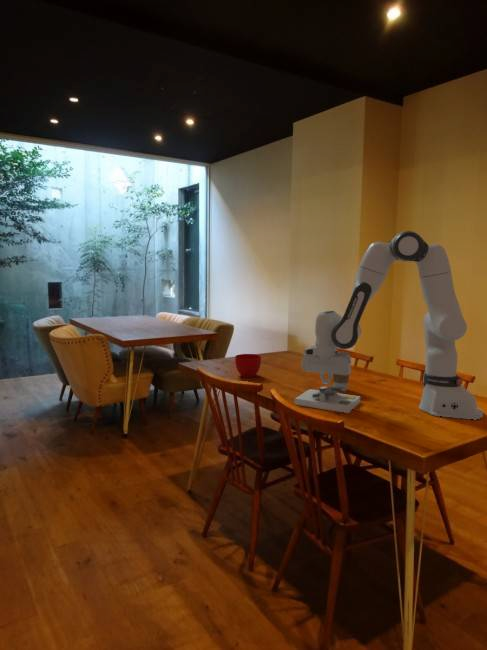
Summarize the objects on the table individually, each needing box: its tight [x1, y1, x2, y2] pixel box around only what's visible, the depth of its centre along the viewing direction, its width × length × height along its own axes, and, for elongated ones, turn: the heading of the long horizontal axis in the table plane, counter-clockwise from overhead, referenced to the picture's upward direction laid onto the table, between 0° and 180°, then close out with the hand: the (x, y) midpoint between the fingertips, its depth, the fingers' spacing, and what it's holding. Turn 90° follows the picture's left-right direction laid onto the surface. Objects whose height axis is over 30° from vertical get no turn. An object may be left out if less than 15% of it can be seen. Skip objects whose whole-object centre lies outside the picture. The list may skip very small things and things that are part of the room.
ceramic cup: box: [234, 353, 262, 378], centre depth 232 cm, size 13×17×10 cm
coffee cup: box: [332, 361, 352, 392], centre depth 205 cm, size 8×8×15 cm
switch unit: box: [294, 385, 361, 414], centre depth 185 cm, size 22×16×6 cm
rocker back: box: [318, 386, 343, 392], centre depth 188 cm, size 9×4×1 cm, turn 60°
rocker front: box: [312, 390, 338, 398], centre depth 181 cm, size 9×4×1 cm, turn 60°
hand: (325, 383), depth 189 cm, fingers closed
